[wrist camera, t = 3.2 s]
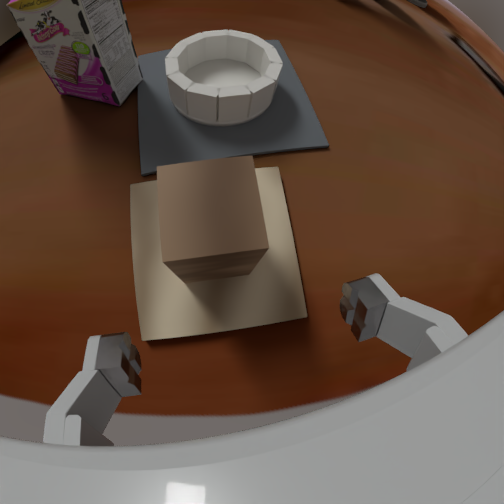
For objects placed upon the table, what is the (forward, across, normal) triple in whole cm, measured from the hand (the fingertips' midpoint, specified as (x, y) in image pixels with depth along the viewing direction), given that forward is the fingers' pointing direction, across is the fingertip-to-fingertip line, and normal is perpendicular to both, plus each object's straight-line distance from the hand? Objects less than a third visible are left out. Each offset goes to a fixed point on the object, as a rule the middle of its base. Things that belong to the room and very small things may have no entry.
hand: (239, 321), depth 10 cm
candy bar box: (+28, +10, -11) cm, 32 cm away
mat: (+25, -4, -7) cm, 26 cm away
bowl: (+24, -4, -8) cm, 26 cm away
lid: (+13, 0, +5) cm, 14 cm away
